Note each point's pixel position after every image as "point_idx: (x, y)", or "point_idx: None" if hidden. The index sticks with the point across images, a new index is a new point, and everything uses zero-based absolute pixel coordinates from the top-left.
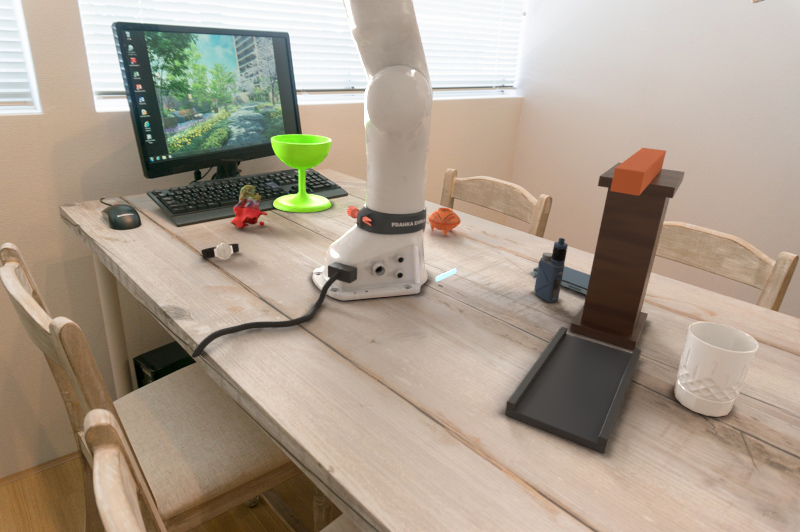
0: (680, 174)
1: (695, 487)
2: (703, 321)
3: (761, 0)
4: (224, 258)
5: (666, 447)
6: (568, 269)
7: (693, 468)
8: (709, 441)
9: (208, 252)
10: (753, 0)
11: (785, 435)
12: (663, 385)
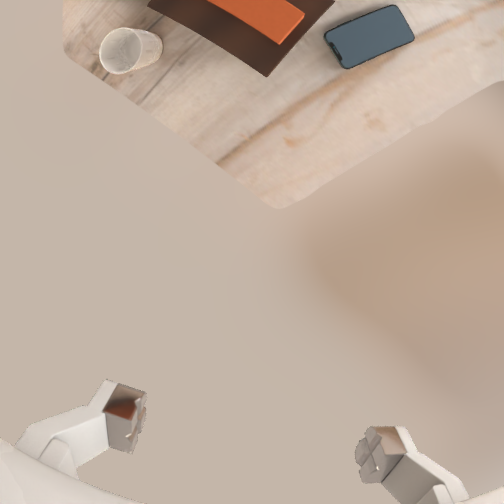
0: (243, 57)
1: (80, 17)
2: (141, 46)
3: (365, 436)
4: None
5: (105, 11)
6: (392, 42)
7: (91, 20)
8: None
9: None
10: (393, 430)
11: (117, 86)
12: (164, 29)
